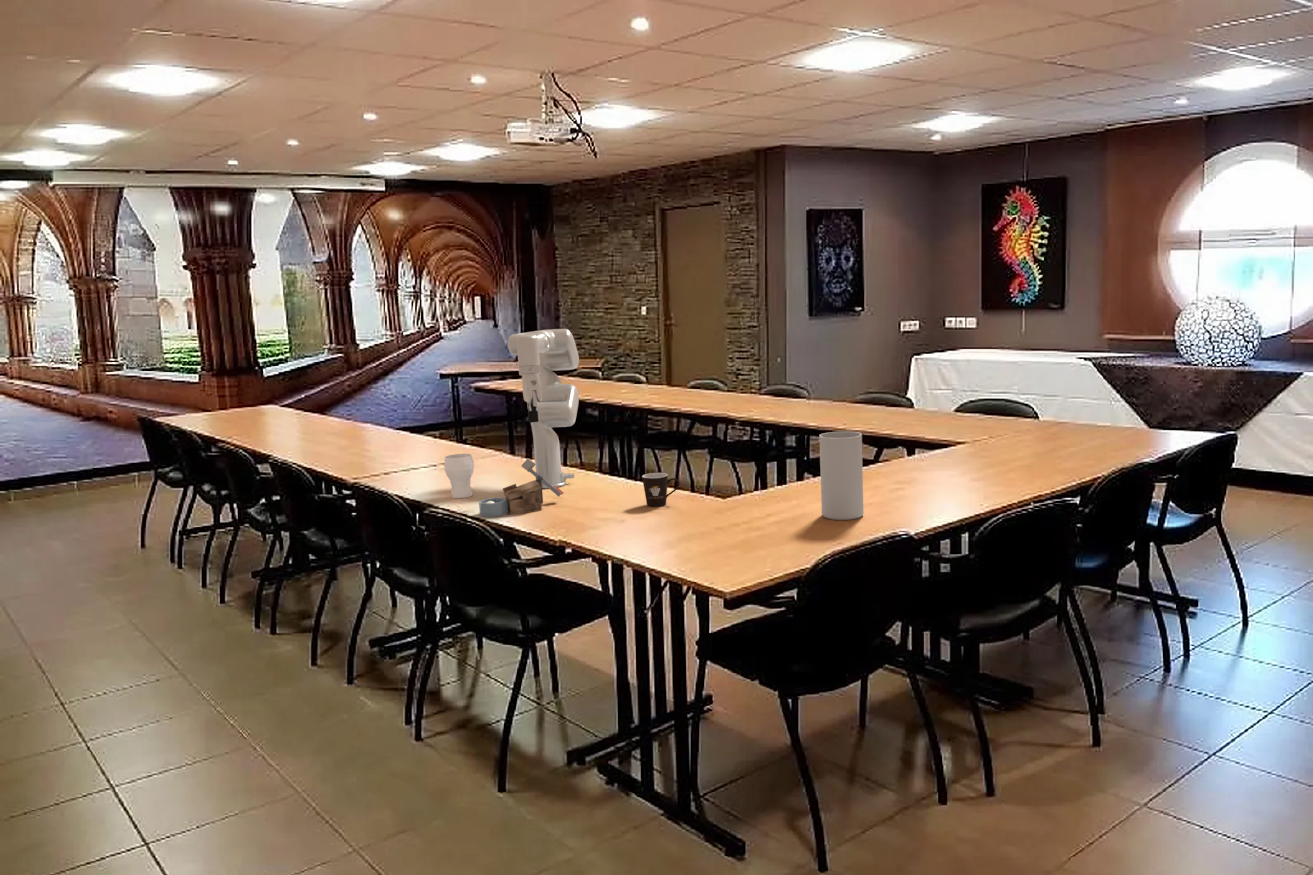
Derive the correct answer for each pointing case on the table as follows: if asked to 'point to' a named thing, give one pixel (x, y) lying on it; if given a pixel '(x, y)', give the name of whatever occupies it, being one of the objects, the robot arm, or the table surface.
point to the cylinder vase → (841, 475)
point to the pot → (493, 507)
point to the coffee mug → (657, 488)
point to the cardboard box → (524, 497)
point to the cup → (459, 474)
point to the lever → (540, 477)
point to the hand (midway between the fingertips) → (533, 421)
